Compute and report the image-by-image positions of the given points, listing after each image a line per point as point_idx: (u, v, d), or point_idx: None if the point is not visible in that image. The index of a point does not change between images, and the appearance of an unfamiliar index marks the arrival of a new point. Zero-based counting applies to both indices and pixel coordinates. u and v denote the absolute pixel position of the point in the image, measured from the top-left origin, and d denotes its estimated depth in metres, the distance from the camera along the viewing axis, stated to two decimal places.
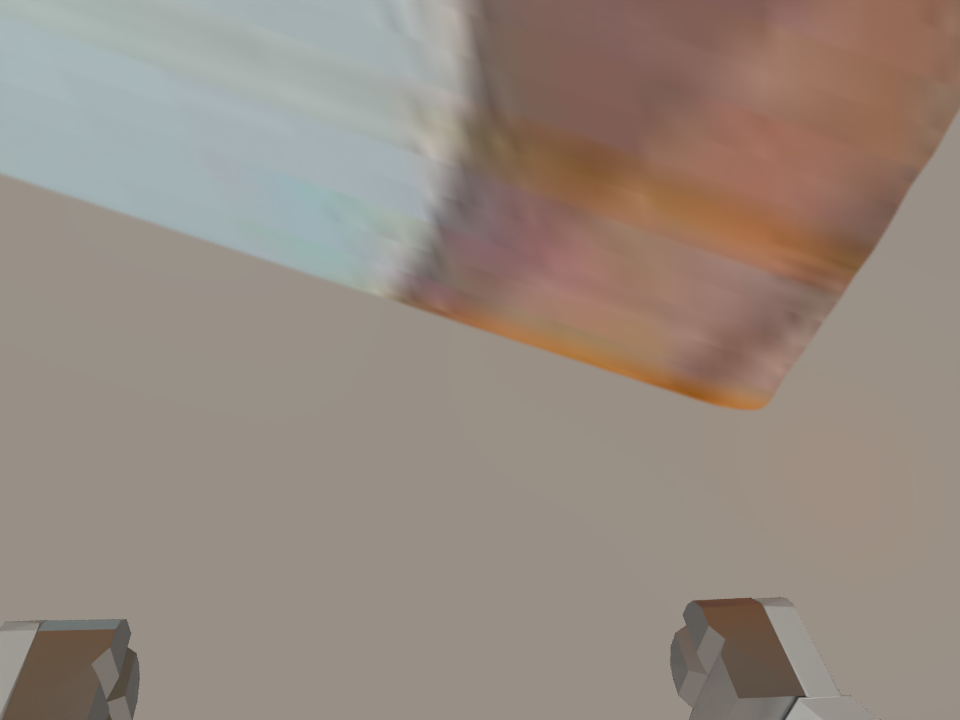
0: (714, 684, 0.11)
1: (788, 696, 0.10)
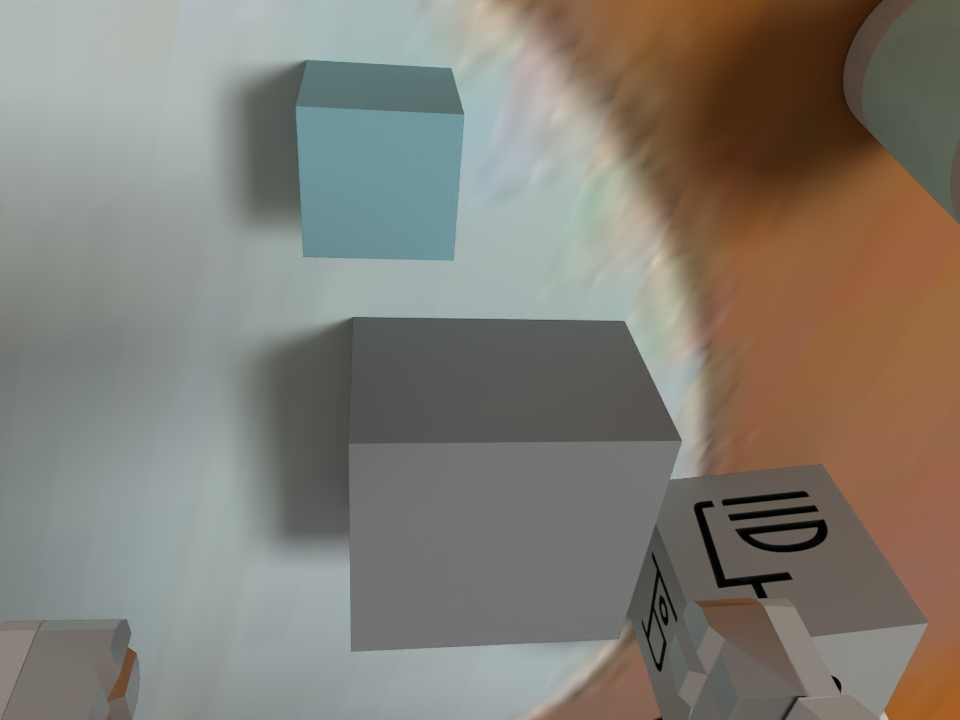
0: (714, 684, 0.11)
1: (788, 696, 0.10)
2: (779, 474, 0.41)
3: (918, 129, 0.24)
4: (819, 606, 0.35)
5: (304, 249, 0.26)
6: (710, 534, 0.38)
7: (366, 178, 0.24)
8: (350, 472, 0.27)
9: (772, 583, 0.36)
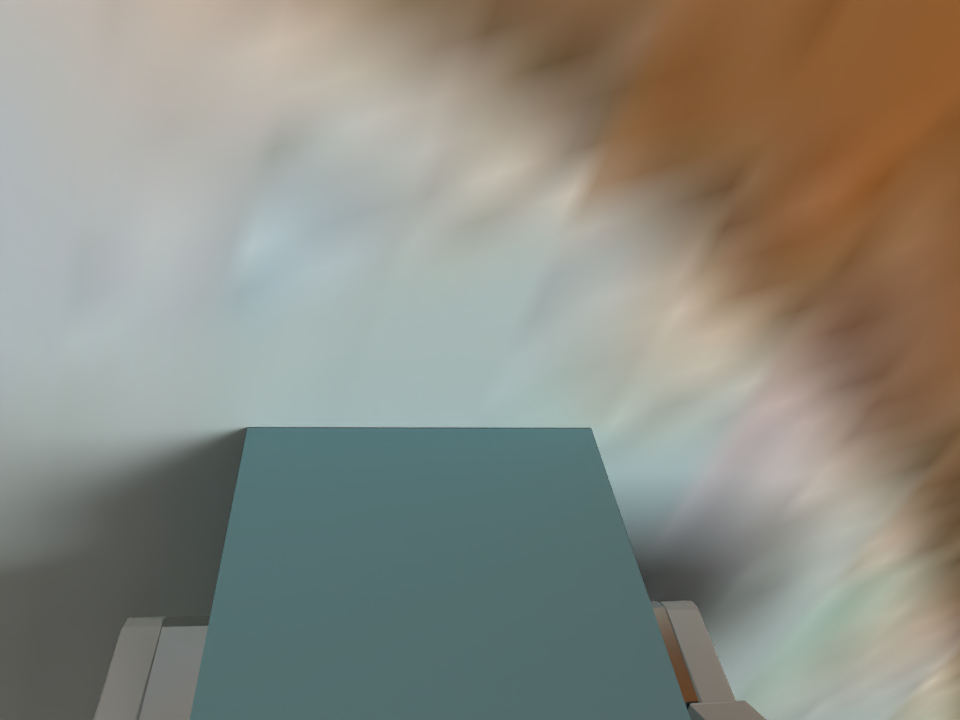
0: None
1: None
2: None
3: None
4: None
5: None
6: None
7: None
8: None
9: None
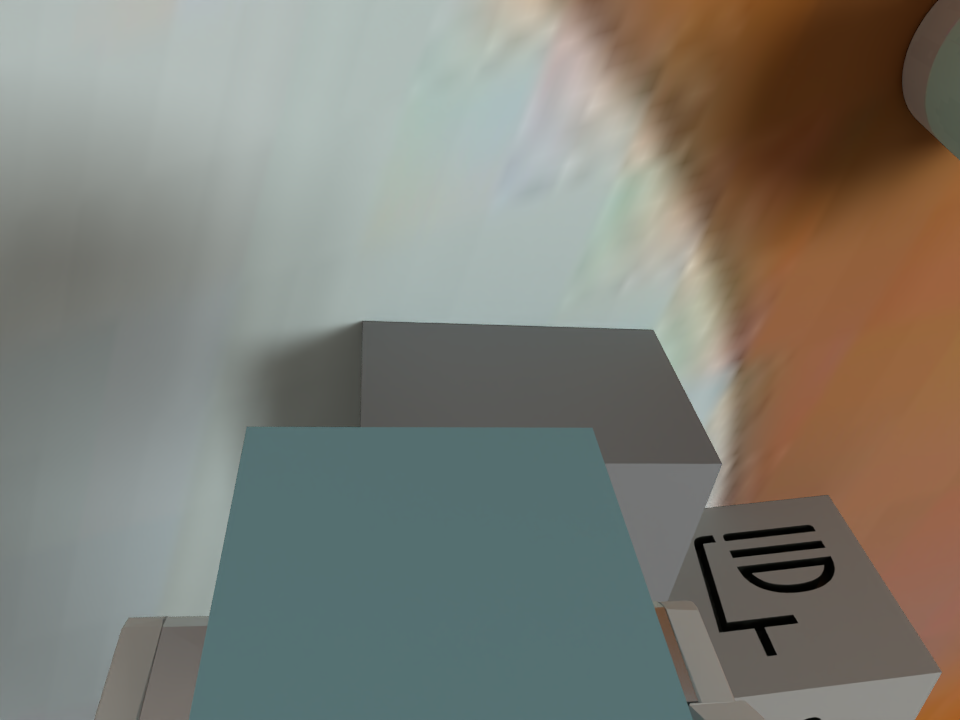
0: None
1: None
2: (783, 506, 0.39)
3: None
4: (826, 653, 0.33)
5: None
6: (711, 572, 0.36)
7: None
8: None
9: (776, 627, 0.34)
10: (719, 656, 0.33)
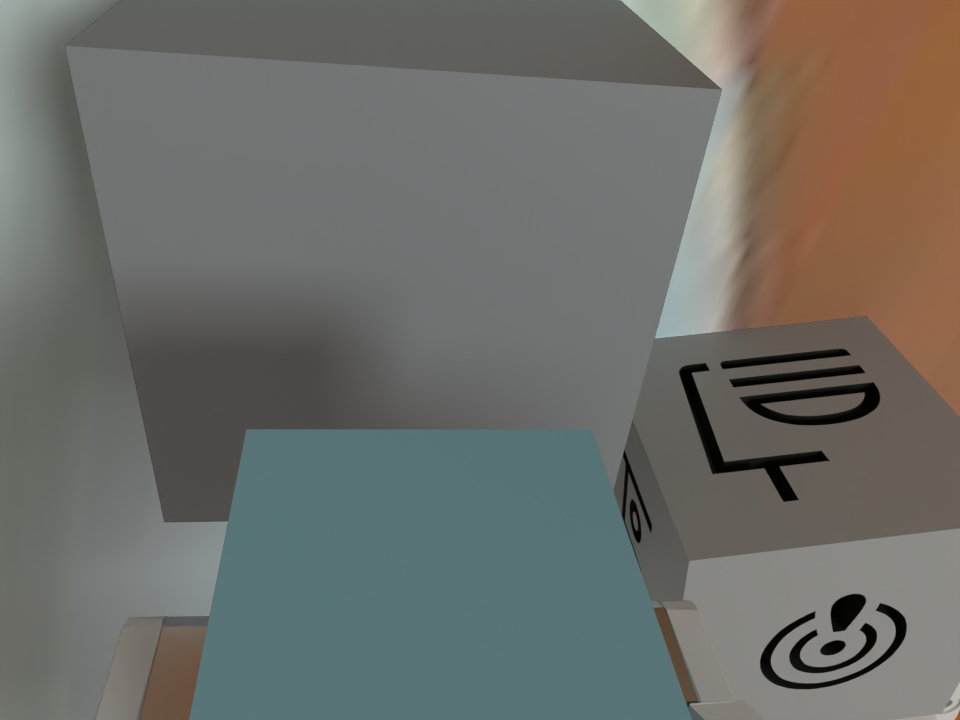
0: None
1: None
2: (805, 330, 0.28)
3: None
4: (872, 496, 0.22)
5: None
6: (702, 405, 0.26)
7: None
8: (84, 123, 0.14)
9: (797, 466, 0.23)
10: (712, 503, 0.22)
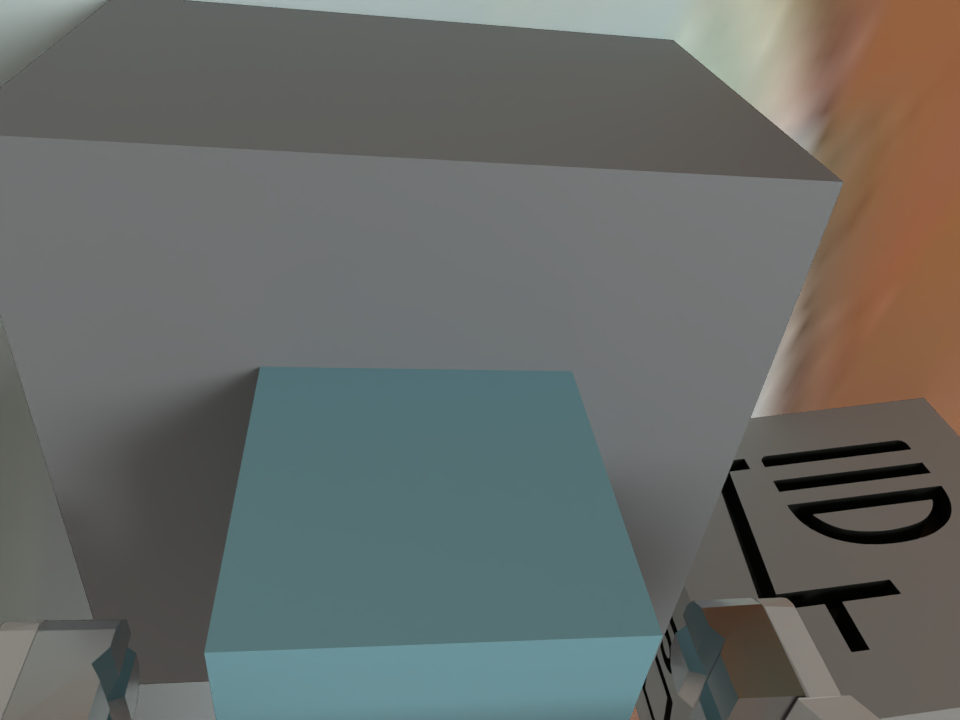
0: (714, 684, 0.11)
1: (788, 696, 0.10)
2: (855, 415, 0.25)
3: None
4: (958, 645, 0.18)
5: None
6: (745, 515, 0.22)
7: None
8: None
9: (863, 601, 0.19)
10: None
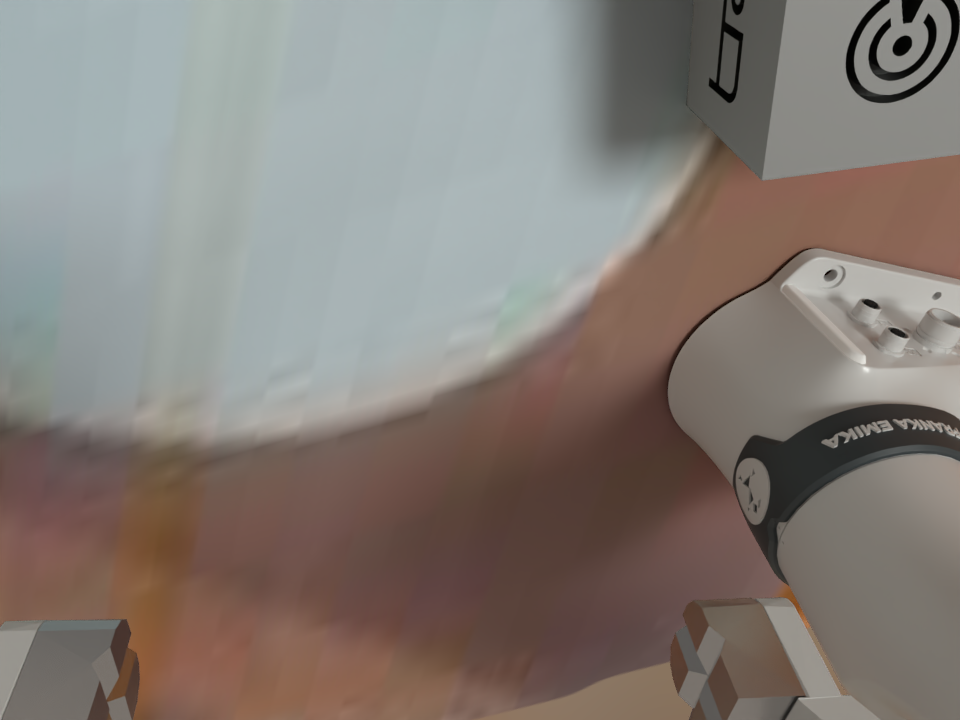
0: (714, 684, 0.11)
1: (788, 696, 0.10)
2: None
3: None
4: None
5: None
6: None
7: None
8: None
9: None
10: None
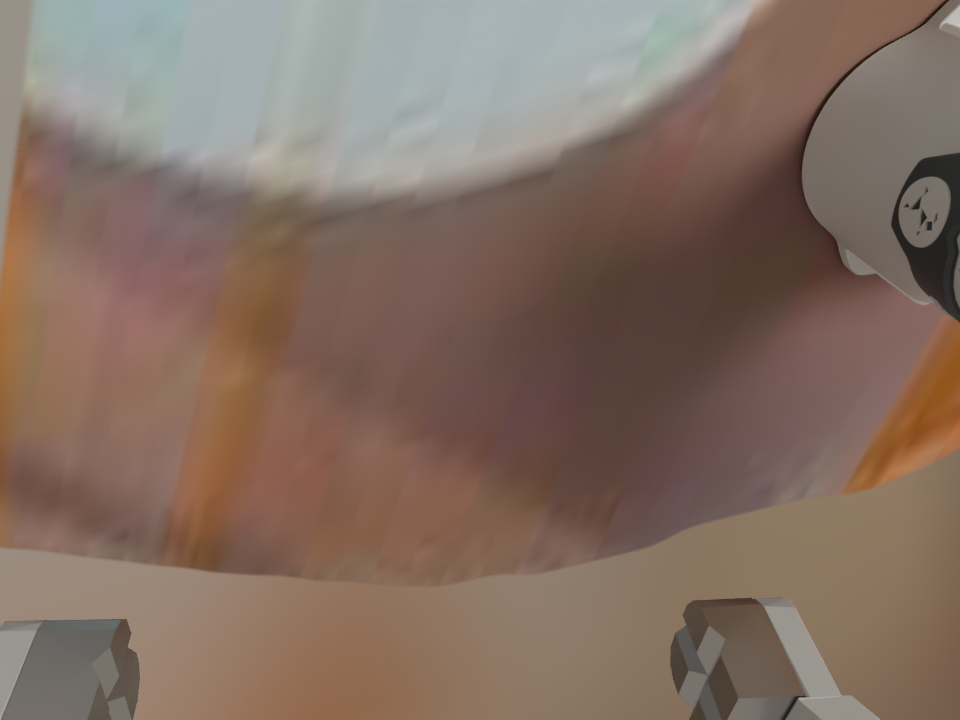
0: (714, 684, 0.11)
1: (788, 696, 0.10)
2: None
3: None
4: None
5: None
6: None
7: None
8: None
9: None
10: None
